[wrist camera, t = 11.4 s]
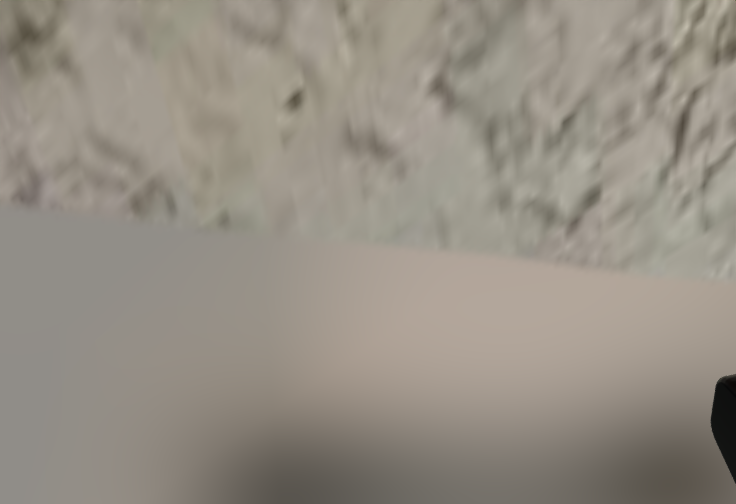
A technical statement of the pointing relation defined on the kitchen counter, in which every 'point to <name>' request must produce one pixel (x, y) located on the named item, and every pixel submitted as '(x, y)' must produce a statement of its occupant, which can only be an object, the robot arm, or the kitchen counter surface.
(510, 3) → the kitchen counter surface
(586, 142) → the kitchen counter surface
